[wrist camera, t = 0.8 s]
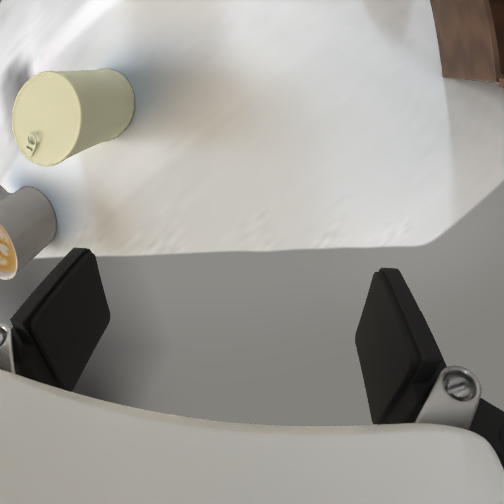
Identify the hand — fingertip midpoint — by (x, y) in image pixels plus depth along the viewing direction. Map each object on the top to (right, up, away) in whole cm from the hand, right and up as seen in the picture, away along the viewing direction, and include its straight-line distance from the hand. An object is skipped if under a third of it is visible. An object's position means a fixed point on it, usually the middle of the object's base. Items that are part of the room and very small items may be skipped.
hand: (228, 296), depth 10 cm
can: (-17, +19, +22) cm, 34 cm away
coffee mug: (-33, +8, +30) cm, 45 cm away
